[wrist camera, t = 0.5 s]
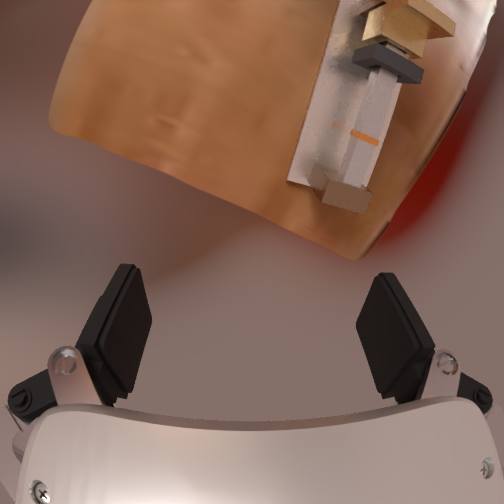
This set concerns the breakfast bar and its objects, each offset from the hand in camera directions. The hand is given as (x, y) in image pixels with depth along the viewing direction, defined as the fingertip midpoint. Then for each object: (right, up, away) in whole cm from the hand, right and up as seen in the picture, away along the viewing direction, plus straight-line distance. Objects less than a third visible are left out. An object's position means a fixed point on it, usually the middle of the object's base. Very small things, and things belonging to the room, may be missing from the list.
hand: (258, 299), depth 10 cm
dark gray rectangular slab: (+15, +25, +15) cm, 33 cm away
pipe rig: (+14, +24, +20) cm, 34 cm away
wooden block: (+16, +29, +12) cm, 35 cm away
